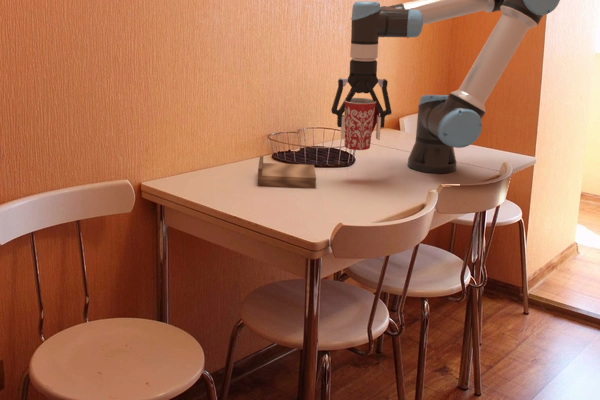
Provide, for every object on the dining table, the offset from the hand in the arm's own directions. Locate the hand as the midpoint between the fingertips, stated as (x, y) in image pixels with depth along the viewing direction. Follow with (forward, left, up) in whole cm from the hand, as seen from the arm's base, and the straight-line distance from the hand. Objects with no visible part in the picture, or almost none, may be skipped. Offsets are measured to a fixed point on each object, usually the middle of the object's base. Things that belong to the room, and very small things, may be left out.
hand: (360, 138), depth 200 cm
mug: (-1, 0, -3) cm, 3 cm away
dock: (+21, +3, -12) cm, 24 cm away
